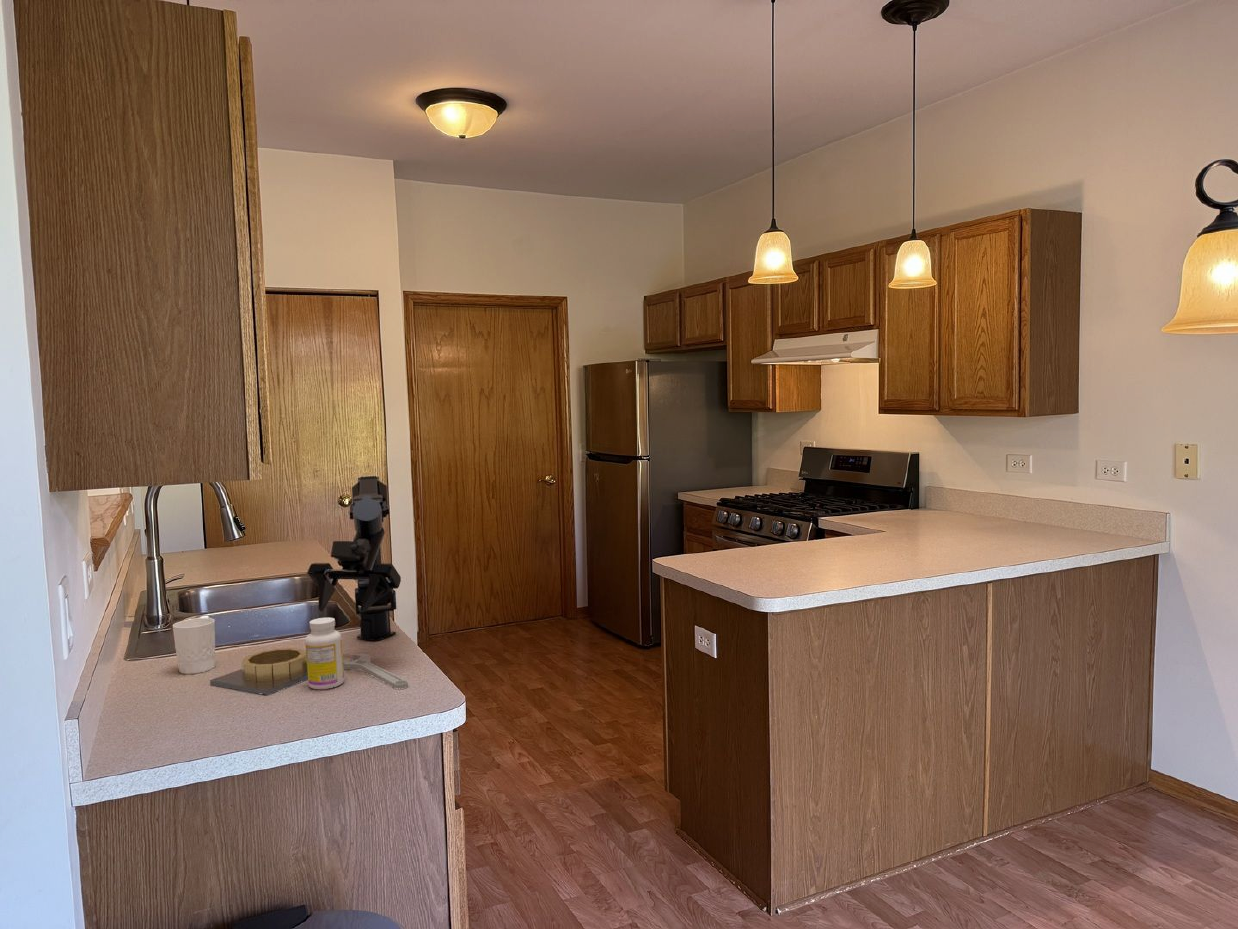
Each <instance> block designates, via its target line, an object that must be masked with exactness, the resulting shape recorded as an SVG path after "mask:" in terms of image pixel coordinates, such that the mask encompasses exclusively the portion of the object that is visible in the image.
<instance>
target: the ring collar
mask: <svg viewBox="0 0 1238 929" xmlns="http://www.w3.org/2000/svg"><path fill="white" fill-rule="evenodd" d="M240 662H241V669H238V670H235V671H232V672H229V673H226V674H224V675H221V676H218V677H215V678H212V679H210V680H209V685H210V686H212V687H213V686H214V687H220V688H224V687H226V688H225V689H229V688H232V689H231V690H234V689H237V690H236V691H240V690H242V691H241V692H245V691H246V692H247V693H250V692H251V693H252V694H256V693H262V694H266V695H265V696H269V695H268V694H270V693H272V694H275V693H277V692H279V691H278V690H280V691H282V690H281V689H283V688H285V689H287V688H286V687H288V688H290V687H292V685H293V686H294V685H298V684H300V683H302V682H301V681H303V682H305V681H308V680H307V679H308V671H307V656H306V650H304V649H303V648H302V649H301V648H297V647H284V648H283V647H280V648H272V649H266V650H261V651H258V652H255V653H251V654H249V655H247V656H245V657H244V658H243V659H242V660H240ZM299 682H300V683H299ZM297 683H298V684H297ZM283 690H284V689H283ZM276 691H277V692H276ZM274 692H275V693H274ZM251 693H250V694H251ZM270 695H271V694H270Z"/></svg>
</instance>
